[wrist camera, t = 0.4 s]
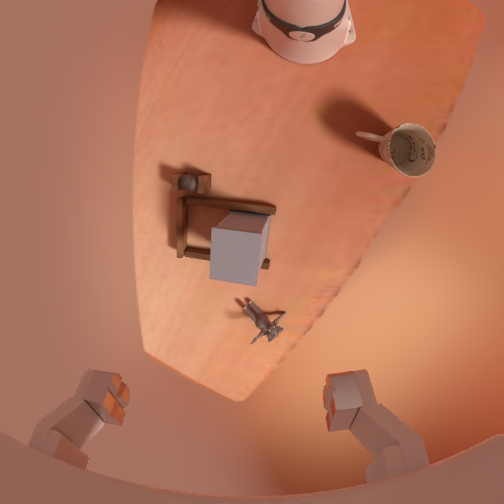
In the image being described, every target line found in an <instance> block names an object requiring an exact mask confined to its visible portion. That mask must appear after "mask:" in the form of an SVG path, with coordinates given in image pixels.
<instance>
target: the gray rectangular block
mask: <svg viewBox="0 0 504 504" xmlns="http://www.w3.org/2000/svg"><path fill="white" fill-rule="evenodd" d="M269 222H270V215H267V214H260V213H252V212H244V211H235V210H230V211H229V214H228V215H227V216H226V217H225V218H224V219H223V220H222V221H221V222H220V223H219V224H218V225H217V226H213V227H212V230H211V253H210V279H214V280H220V281H226V282H232V283H238V284H244V285H251V286H256V285H257V278H258V274H259V271H260V268H261V265H262V262H263V260H264V259H265V257H266V249H267V240H268V231H269Z"/></svg>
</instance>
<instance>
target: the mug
mask: <svg viewBox="0 0 504 504" xmlns="http://www.w3.org/2000/svg"><path fill="white" fill-rule="evenodd" d="M356 135H357V136H359V137H361V138H364V139H367V140H372V141H376V142H379V153H380V156H381V157H382V159H383V160H384V161H385V162H386V163H388V164H389V165H390V166H392V167H393V168H394V169H396V170H397V171H398V172H400V173H401V174H403V175H405V176H408V177H420V176H423V175H425V174H426V173H427V172H429V171H430V170H431V168H432V167H433V165H434V162H435V159H436V146H435V143H434V140H433V138H432V136H431V135H430V133H429V132H428V131H427V130H426V129H425V128H423V127H422V126H420V125H418V124H415V123H404V124H401V125H399V126H397V127H395V128H394V129H393V130H391V131H390V132H388V133H387V134H385V135H384V136H379V135H376V134H372V133H367V132H360V131H358V132H356Z"/></svg>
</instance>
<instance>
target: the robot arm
mask: <svg viewBox="0 0 504 504" xmlns="http://www.w3.org/2000/svg"><path fill="white" fill-rule="evenodd" d="M257 5H258V6H259V8H258V10H257V13H256V16H255V18H254V21H253V24H252V30H253V31H254V32H255V33H256V34H257V35H259V36H261V37H263V38H264V39H265V40H266V42H267V43H268V45H269V46H270V47H271V49H272V50H273V51H274V52H275V53H277V54H278V55H279V56H281V57H283V58H285V59H287V60H289V61H292V62H296V63H303V64H312V63H318V62H322V61H325V60H327V59H329V58H330V57H332V56H333V55H334V54H336V53H337V51H338V50H339V49H340V48H342V47H343V46H346V45H349V44H351V43H353V42H354V41H355V40H356V34H355V30H354V25H353V21H352V16H351V12H350V8H349V4H348V1H347V0H258V4H257ZM349 31H350V33H349ZM121 380H122V377H121V376H120V374H119V373H112V372H105V371H99V370H94V369H87V370H86V371H85V372H84V375H83V377H82V379H81V381H80V384H79V386H78V388H77V390H76V393H75V395H74V397H73V398H72V397H70V398H69V399H68V400H66V401H65V402H64V403H62V404H61V405H60V406H59V407H57V408H56V409H55V410H53V411H52V412H51V413H49V414H48V415H47V416H45V417H44V418H43V419H41V420H40V421H39V422H38V423H37V424H36V427H35V429H34V431H33V434H32V436H31V439H30V441H29V444H28V445H26V444H24V443H22V442H20V441H18V440H16V439H14V438H13V437H11V436H9V435H7V434H5V433H3V432H2V431H0V504H504V435H503V434H498V435H495V436H493V437H491V438H489V439H488V440H485V441H484V442H481V443H479V444H477V445H476V446H474V447H472V448H469V449H467V450H465V451H463V452H461V453H458V454H456V455H454V456H451V457H449V458H447V459H444V460H442V461H439V462H437V463H434V464H431V465H429V461H428V458H427V454H426V450H425V447H424V444H423V441H422V437H421V436H420V435H419V434H417V433H416V432H415V431H414V430H412V429H411V428H410V427H409V426H408V425H406V424H405V423H404V422H403V421H401V420H400V419H399V418H398V417H397V416H395V415H394V414H393V413H392V412H390V411H389V410H388V409H387V408H386V407H384V406H383V405H382V404H377V401H376V397H375V394H374V391H373V388H372V385H371V381H370V378H369V375H368V372H367V371H366V370H365V369H364V370H358V371H349V372H343V373H335V374H328V375H327V376H326V385H325V386H324V390H323V403H324V408H325V409H326V410H327V411H328V412H327V415H326V421H327V428H328V432H330V431H339V430H346V429H349V430H350V431H351V433H352V434H353V435H354V436H355V437H356V438H357V439H358V440H359V441H360V442H361V443H362V445H363V446H364V447H365V448H366V449H367V450H368V451H369V452H370V453H371V454H372V455H373V456H374V457H375V460H374V461H373V462H372V463H371V464H370V465H369V466H368V468H367V469H366V470H365V472H366V478H367V484H363V485H359V486H354V487H348V488H343V489H337V490H331V491H324V492H317V493H308V494H297V495H284V496H255V497H253V496H249V497H248V496H247V497H246V496H219V495H206V494H196V493H187V492H179V491H172V490H166V489H160V488H155V487H149V486H145V485H140V484H136V483H131V482H127V481H123V480H119V479H116V478H112V477H108V476H105V475H102V474H98V473H95V472H92V471H89V470H86V467H87V463H88V459H89V457H88V455H86V454H85V453H83V452H82V451H81V450H80V449H81V448H82V447H83V446H84V445H85V444H86V443H87V442H88V441H89V440H90V439H91V438H92V437H93V436H94V435H95V434H96V433H97V432H98V431H99V430H100V429H101V428H102V426H103V425H104V424H105V423H109V424H114V425H120V426H122V423H123V419H124V416H125V411H124V408H125V407H126V406H127V405H128V403H129V399H130V392H129V388H128V386H127V385H126V384H125V383H123V382H122V381H121Z"/></svg>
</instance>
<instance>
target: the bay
mask: <svg viewBox="0 0 504 504" xmlns="http://www.w3.org/2000/svg"><path fill="white" fill-rule="evenodd" d="M210 187H211V174H204V175H201V176H200V175H186V172H180V173H176V174H173V175H172V191H179V190H181V189H183V190H195V191H197V193H200V194H203V193H205V192H207V191H209V190H210ZM188 205H196V206H205V207H215V208H223V209H232V210H240V211H248V212H256V213H264V214H272V215H275V213H276V206H272V205H264V204H256V203H248V202H239V201H231V200H221V199H212V198H202V197H192V196H190V197H188V196H182V197H180V198H177V258H182V257H183V256H184V255H185V257H190V258H196V259H202V260H209V261H210V253H211V251H207V250H200V249H194V248H188V249H187V219H188ZM269 264H270V260H269V259H264V260H263V262H262V265H261V269H269Z"/></svg>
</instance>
